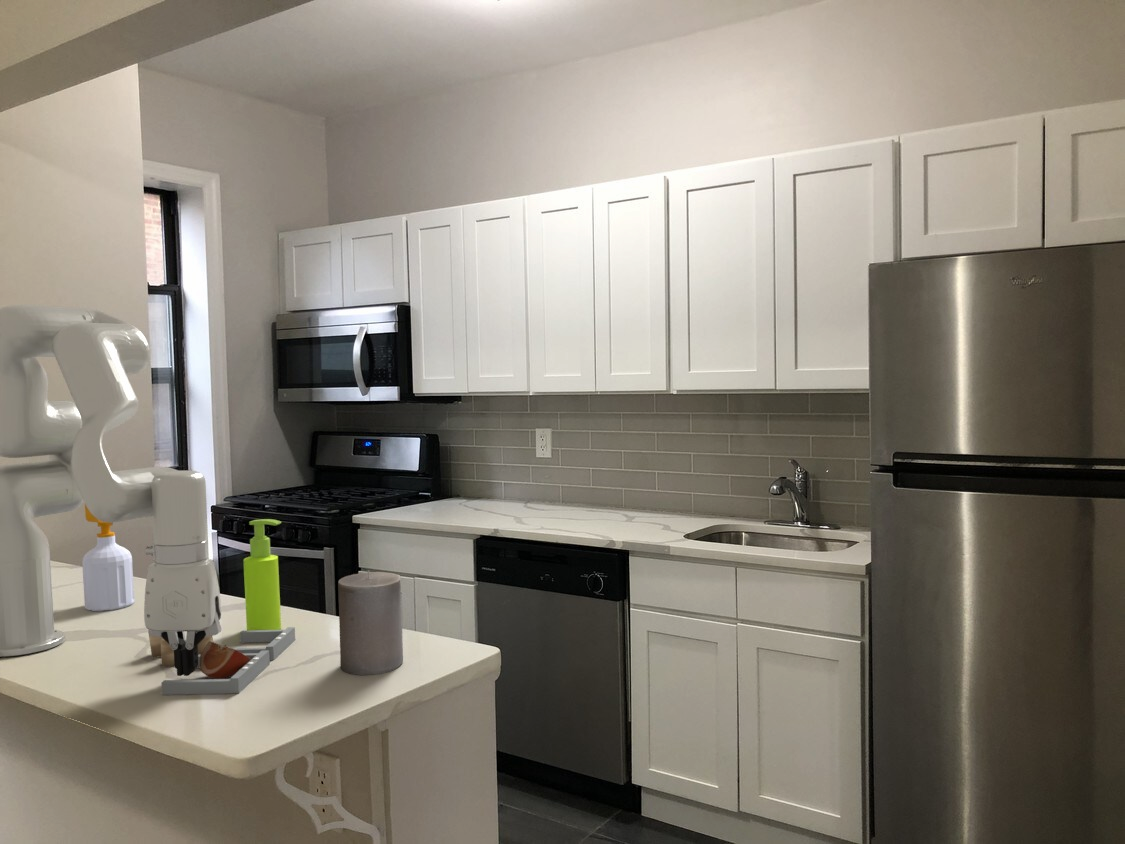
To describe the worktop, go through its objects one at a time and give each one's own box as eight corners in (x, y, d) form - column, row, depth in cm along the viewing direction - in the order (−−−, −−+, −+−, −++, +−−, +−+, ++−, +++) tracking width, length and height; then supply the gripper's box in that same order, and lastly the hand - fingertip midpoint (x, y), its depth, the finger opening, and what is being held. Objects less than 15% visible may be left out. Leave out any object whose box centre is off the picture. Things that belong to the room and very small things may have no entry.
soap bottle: (143, 603, 186) (137, 484, 184) (100, 614, 178) (93, 489, 177) (118, 598, 190) (111, 482, 189) (75, 608, 183) (68, 487, 181)
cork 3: (198, 656, 148) (195, 632, 148) (190, 653, 151) (187, 630, 150) (217, 650, 151) (214, 627, 150) (209, 648, 153) (206, 625, 153)
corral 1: (162, 694, 131) (161, 679, 131) (199, 665, 144) (198, 651, 144) (238, 693, 131) (238, 677, 131) (269, 664, 144) (268, 649, 144)
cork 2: (158, 666, 144) (156, 642, 144) (167, 660, 147) (166, 636, 147) (178, 666, 144) (176, 641, 144) (186, 660, 147) (185, 635, 147)
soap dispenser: (276, 635, 160) (270, 522, 159) (240, 634, 161) (234, 522, 160) (292, 625, 166) (287, 517, 164) (257, 624, 167) (252, 517, 166)
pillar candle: (330, 664, 143) (326, 570, 142) (387, 650, 149) (383, 560, 148) (357, 680, 135) (353, 581, 134) (415, 665, 141) (412, 571, 140)
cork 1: (158, 658, 148) (154, 635, 148) (147, 654, 150) (144, 631, 150) (176, 651, 151) (173, 629, 150) (166, 647, 153) (163, 625, 152)
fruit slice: (191, 676, 139) (189, 644, 139) (233, 665, 144) (231, 634, 144) (217, 688, 133) (215, 654, 133) (259, 676, 138) (257, 643, 138)
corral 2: (217, 661, 146) (216, 647, 146) (242, 640, 157) (241, 627, 157) (273, 659, 146) (273, 645, 146) (295, 639, 157) (294, 626, 157)
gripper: (119, 559, 133) (125, 682, 134) (220, 558, 132) (225, 681, 134) (144, 548, 140) (149, 665, 141) (240, 547, 140) (244, 664, 141)
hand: (186, 672), depth 137 cm, fingers closed
